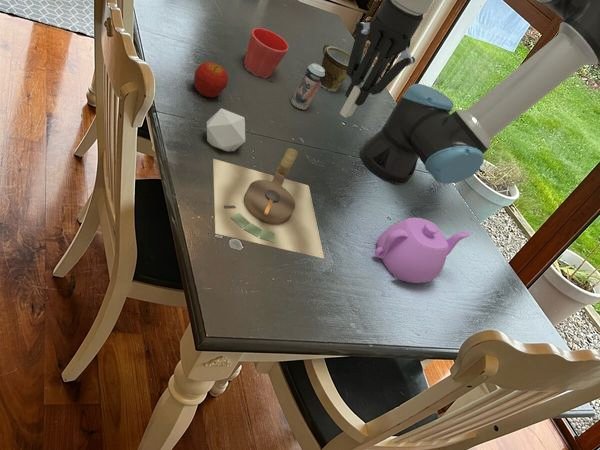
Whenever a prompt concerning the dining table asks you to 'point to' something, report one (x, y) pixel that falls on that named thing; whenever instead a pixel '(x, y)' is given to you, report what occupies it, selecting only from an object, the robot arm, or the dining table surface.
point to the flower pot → (264, 52)
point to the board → (245, 226)
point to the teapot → (415, 249)
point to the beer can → (308, 86)
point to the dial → (272, 194)
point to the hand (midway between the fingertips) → (345, 114)
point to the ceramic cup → (334, 67)
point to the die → (226, 130)
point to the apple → (210, 79)
